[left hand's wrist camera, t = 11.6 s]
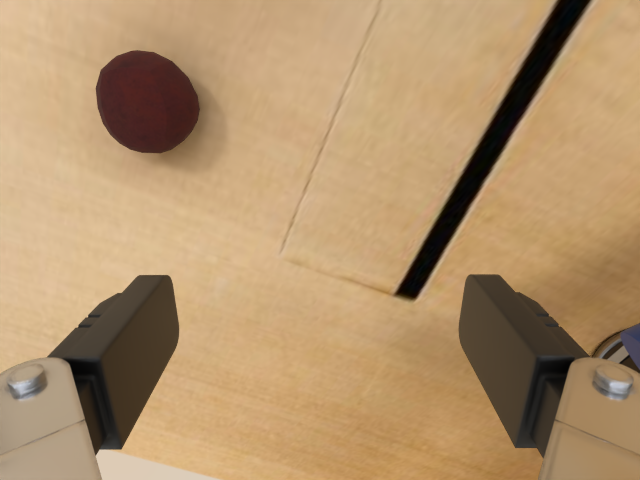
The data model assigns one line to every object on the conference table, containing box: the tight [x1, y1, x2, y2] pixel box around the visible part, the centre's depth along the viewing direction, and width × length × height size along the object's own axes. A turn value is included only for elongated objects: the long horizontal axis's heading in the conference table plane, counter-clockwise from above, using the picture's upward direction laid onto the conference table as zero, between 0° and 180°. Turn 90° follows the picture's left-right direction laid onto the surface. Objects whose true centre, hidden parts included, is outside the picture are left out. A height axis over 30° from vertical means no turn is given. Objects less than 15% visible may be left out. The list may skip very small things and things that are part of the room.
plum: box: [96, 50, 200, 153], centre depth 32 cm, size 7×8×7 cm
